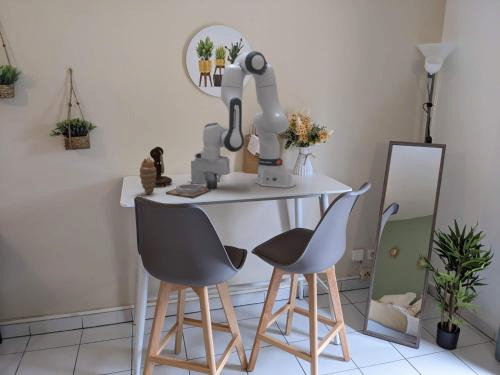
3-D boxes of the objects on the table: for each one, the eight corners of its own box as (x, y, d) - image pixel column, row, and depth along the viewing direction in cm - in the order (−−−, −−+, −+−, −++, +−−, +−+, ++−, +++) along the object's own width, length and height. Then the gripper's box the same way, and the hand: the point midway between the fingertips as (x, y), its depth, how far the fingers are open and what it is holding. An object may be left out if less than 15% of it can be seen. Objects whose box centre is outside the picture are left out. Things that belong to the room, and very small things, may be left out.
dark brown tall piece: (169, 188, 206) (167, 149, 201) (140, 187, 206) (138, 149, 201) (174, 181, 220) (173, 145, 215) (147, 181, 220) (146, 145, 215)
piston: (219, 187, 209) (219, 170, 206) (213, 189, 204) (213, 172, 202) (210, 186, 211) (210, 169, 209) (204, 188, 206) (204, 171, 204)
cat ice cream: (145, 191, 198) (143, 155, 194) (160, 192, 197) (158, 156, 192) (137, 195, 190) (135, 158, 185) (152, 197, 188) (151, 159, 184)
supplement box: (203, 183, 216) (203, 161, 213) (190, 183, 217) (190, 160, 214) (207, 180, 223) (207, 158, 220) (195, 180, 224) (195, 158, 221)
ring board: (210, 191, 201) (210, 185, 200) (192, 198, 187) (192, 192, 186) (184, 187, 208) (184, 181, 207) (165, 194, 194) (165, 188, 193)
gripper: (232, 155, 202) (232, 182, 205) (198, 152, 210) (199, 177, 214) (226, 157, 196) (226, 184, 199) (192, 154, 205) (192, 180, 208)
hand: (211, 181), depth 207 cm, fingers closed on piston, 5 cm apart
